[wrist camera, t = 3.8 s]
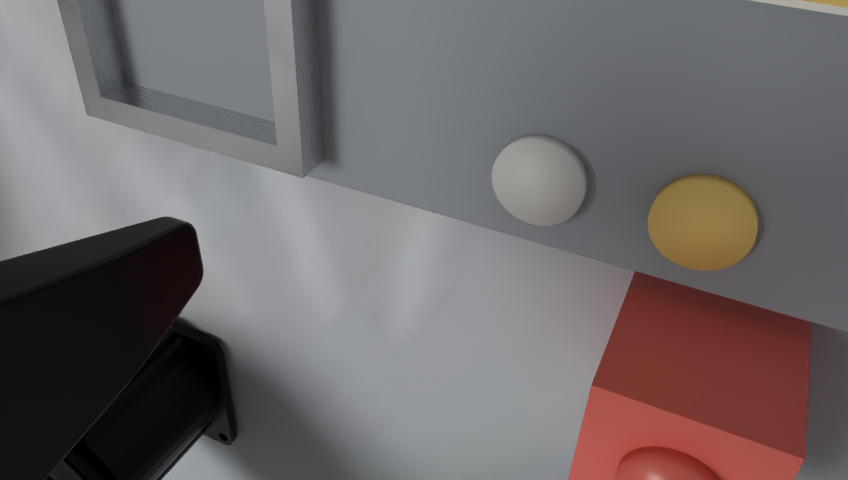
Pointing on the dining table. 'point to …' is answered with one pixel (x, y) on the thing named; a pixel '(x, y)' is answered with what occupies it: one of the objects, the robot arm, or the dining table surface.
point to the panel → (568, 124)
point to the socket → (203, 123)
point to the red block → (696, 390)
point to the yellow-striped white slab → (814, 5)
